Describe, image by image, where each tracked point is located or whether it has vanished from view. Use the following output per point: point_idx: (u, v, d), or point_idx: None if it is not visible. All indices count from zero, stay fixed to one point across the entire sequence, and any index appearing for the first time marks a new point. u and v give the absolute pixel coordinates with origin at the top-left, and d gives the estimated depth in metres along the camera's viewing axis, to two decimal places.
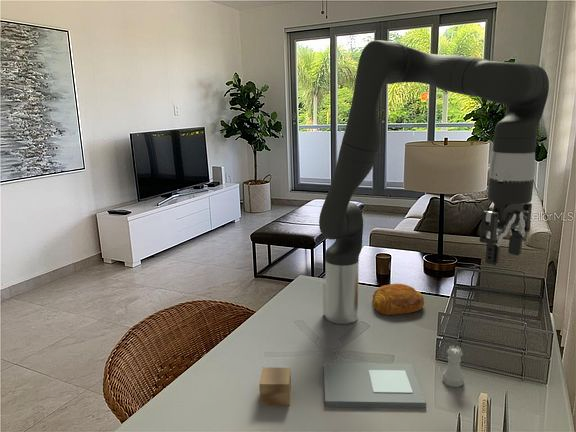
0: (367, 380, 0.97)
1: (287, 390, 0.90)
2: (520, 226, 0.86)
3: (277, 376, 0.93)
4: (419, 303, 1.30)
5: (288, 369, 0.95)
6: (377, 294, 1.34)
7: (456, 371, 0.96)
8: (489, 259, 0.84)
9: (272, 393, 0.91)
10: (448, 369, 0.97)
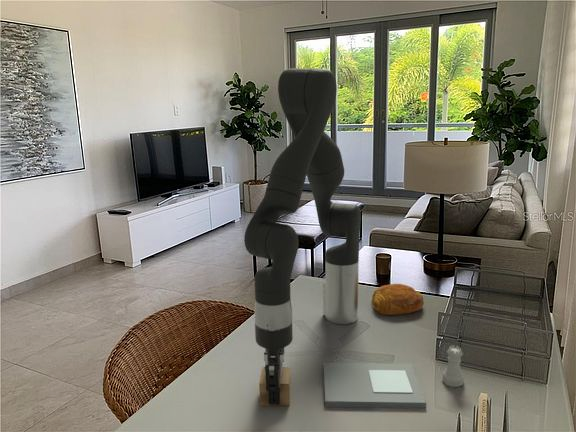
0: (367, 380, 0.97)
1: (287, 389, 0.90)
2: None
3: None
4: (418, 303, 1.30)
5: (288, 368, 0.95)
6: (376, 294, 1.34)
7: (456, 371, 0.96)
8: (273, 401, 0.90)
9: None
10: (448, 369, 0.97)
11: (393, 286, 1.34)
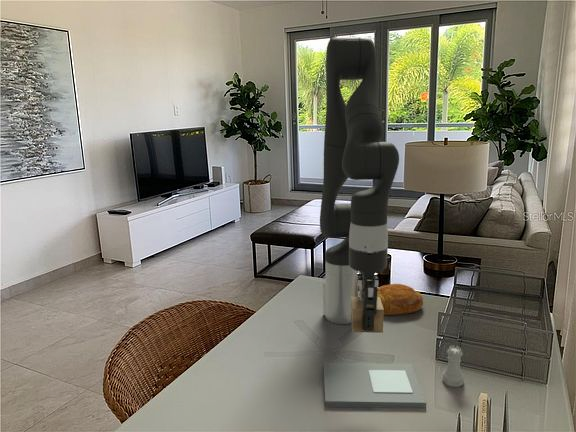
0: (367, 380, 0.97)
1: (381, 315, 0.89)
2: None
3: None
4: (418, 303, 1.29)
5: (378, 298, 0.94)
6: None
7: (456, 371, 0.96)
8: (368, 327, 0.88)
9: None
10: (448, 369, 0.97)
11: (393, 286, 1.34)
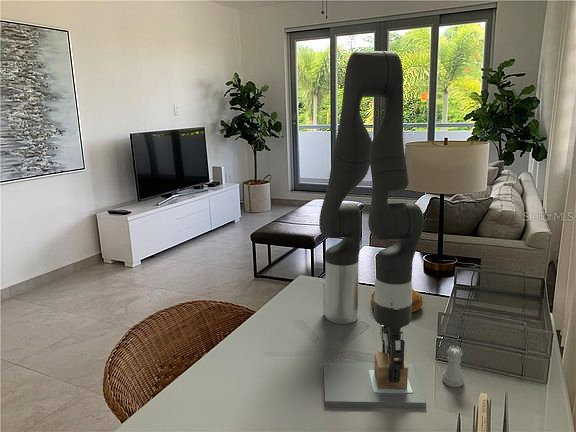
0: (367, 380, 0.97)
1: (406, 373, 0.92)
2: None
3: None
4: (417, 303, 1.29)
5: None
6: None
7: (456, 371, 0.96)
8: (395, 379, 0.90)
9: None
10: (448, 369, 0.97)
11: None
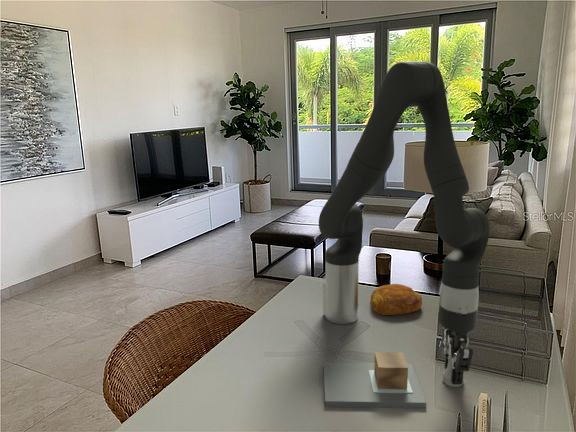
0: (367, 380, 0.97)
1: (406, 373, 0.92)
2: None
3: (393, 360, 0.95)
4: (417, 303, 1.29)
5: (401, 354, 0.97)
6: (375, 294, 1.34)
7: None
8: (458, 381, 0.94)
9: (390, 377, 0.93)
10: (448, 369, 0.97)
11: (391, 286, 1.33)
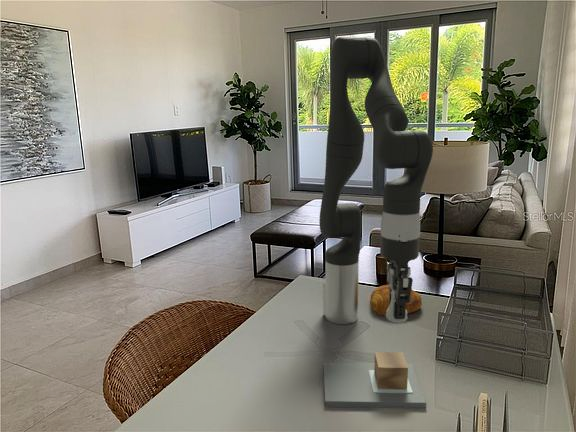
0: (367, 380, 0.97)
1: (406, 373, 0.92)
2: None
3: (393, 360, 0.95)
4: (416, 304, 1.29)
5: (401, 354, 0.97)
6: (375, 294, 1.34)
7: None
8: (400, 315, 0.89)
9: (390, 377, 0.93)
10: (391, 304, 0.92)
11: None
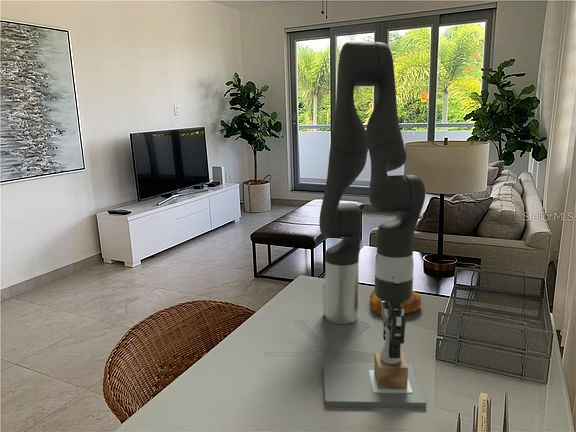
0: (367, 380, 0.97)
1: (406, 373, 0.92)
2: None
3: None
4: (416, 304, 1.29)
5: (401, 354, 0.97)
6: (374, 294, 1.34)
7: None
8: (395, 355, 0.90)
9: (390, 377, 0.93)
10: (385, 346, 0.94)
11: None
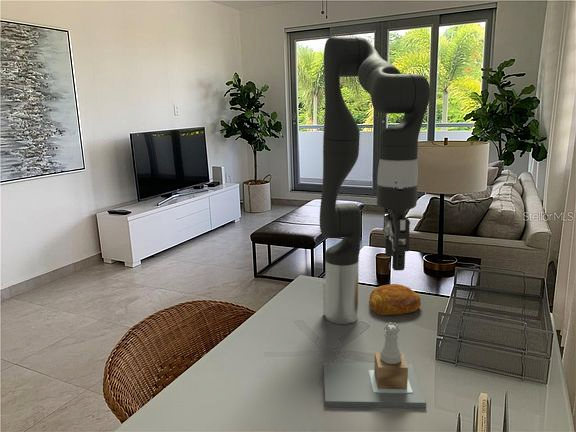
0: (367, 380, 0.97)
1: (406, 373, 0.92)
2: None
3: None
4: (415, 304, 1.29)
5: (401, 354, 0.97)
6: (373, 294, 1.34)
7: (392, 348, 0.93)
8: (399, 266, 0.85)
9: (390, 377, 0.93)
10: (385, 346, 0.94)
11: (390, 286, 1.33)
